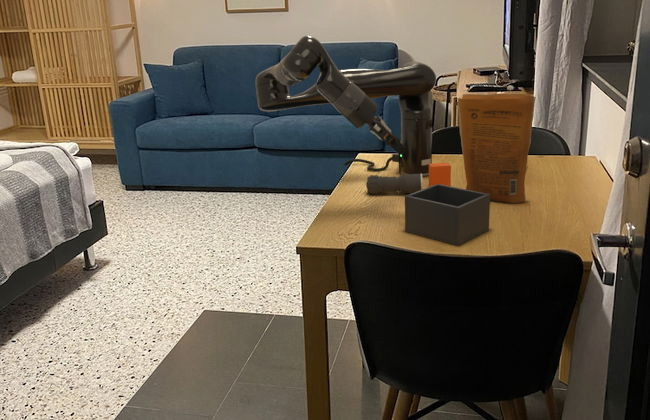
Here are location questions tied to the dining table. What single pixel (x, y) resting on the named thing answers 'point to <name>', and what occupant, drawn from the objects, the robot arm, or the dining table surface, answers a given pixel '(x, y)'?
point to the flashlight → (394, 184)
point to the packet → (440, 174)
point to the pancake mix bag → (496, 143)
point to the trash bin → (447, 213)
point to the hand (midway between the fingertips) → (400, 148)
